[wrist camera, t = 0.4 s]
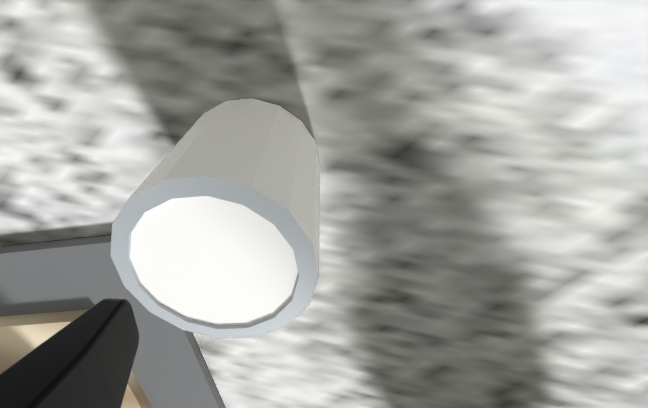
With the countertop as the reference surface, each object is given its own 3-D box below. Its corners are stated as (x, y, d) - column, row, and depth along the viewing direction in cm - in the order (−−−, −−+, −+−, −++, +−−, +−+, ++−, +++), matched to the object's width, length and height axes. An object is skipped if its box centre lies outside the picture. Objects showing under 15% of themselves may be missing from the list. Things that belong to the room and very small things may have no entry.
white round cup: (255, 249, 27) (220, 367, 22) (140, 150, 25) (66, 254, 19) (368, 169, 24) (362, 282, 19) (251, 47, 22) (202, 134, 16)
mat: (246, 456, 37) (245, 465, 36) (-3, 464, 40) (-7, 472, 40) (146, 230, 27) (142, 239, 27) (-172, 265, 30) (-181, 272, 30)
